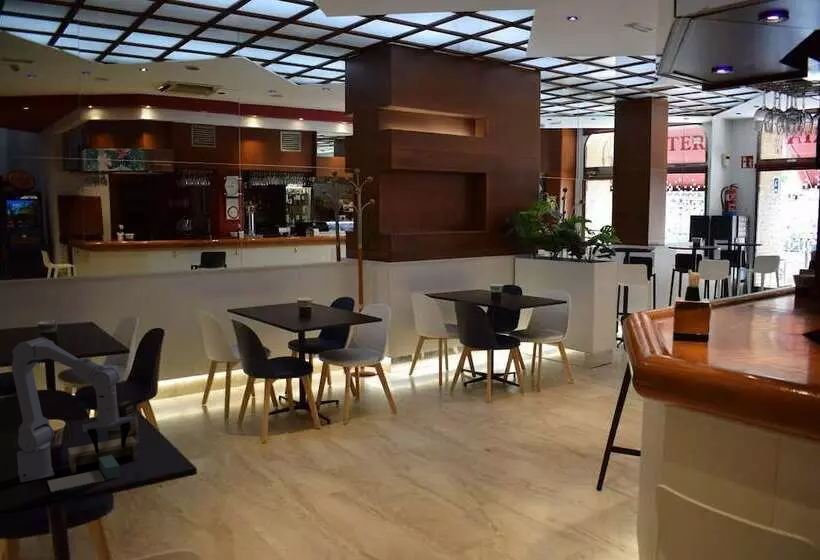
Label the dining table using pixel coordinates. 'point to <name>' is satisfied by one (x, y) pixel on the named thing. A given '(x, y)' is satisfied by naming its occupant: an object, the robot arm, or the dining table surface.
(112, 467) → the block
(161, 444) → the dining table surface
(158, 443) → the dining table surface
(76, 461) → the shelf
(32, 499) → the dining table surface
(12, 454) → the dining table surface
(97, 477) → the mat
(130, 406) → the coffee box
